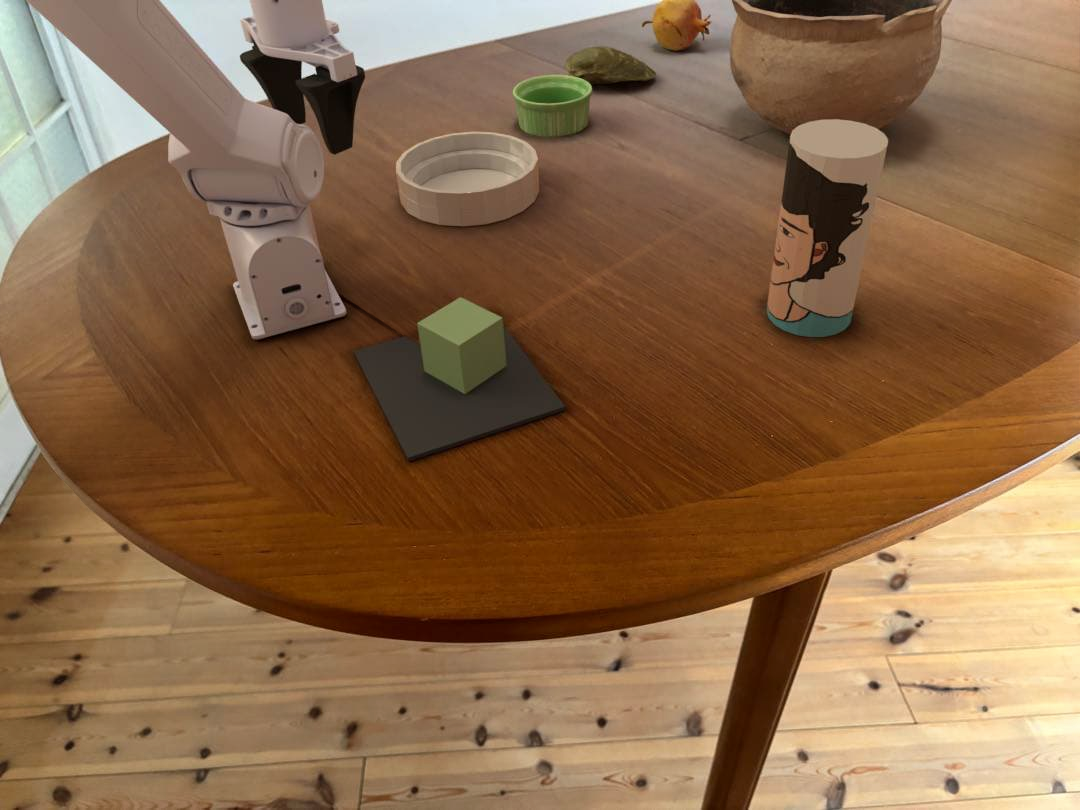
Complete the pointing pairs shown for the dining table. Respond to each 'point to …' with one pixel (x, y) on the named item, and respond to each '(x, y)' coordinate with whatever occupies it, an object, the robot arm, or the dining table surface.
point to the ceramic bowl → (834, 58)
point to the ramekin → (553, 105)
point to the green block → (462, 344)
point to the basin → (468, 178)
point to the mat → (452, 397)
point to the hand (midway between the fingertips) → (317, 137)
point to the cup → (824, 225)
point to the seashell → (607, 66)
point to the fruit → (678, 23)
